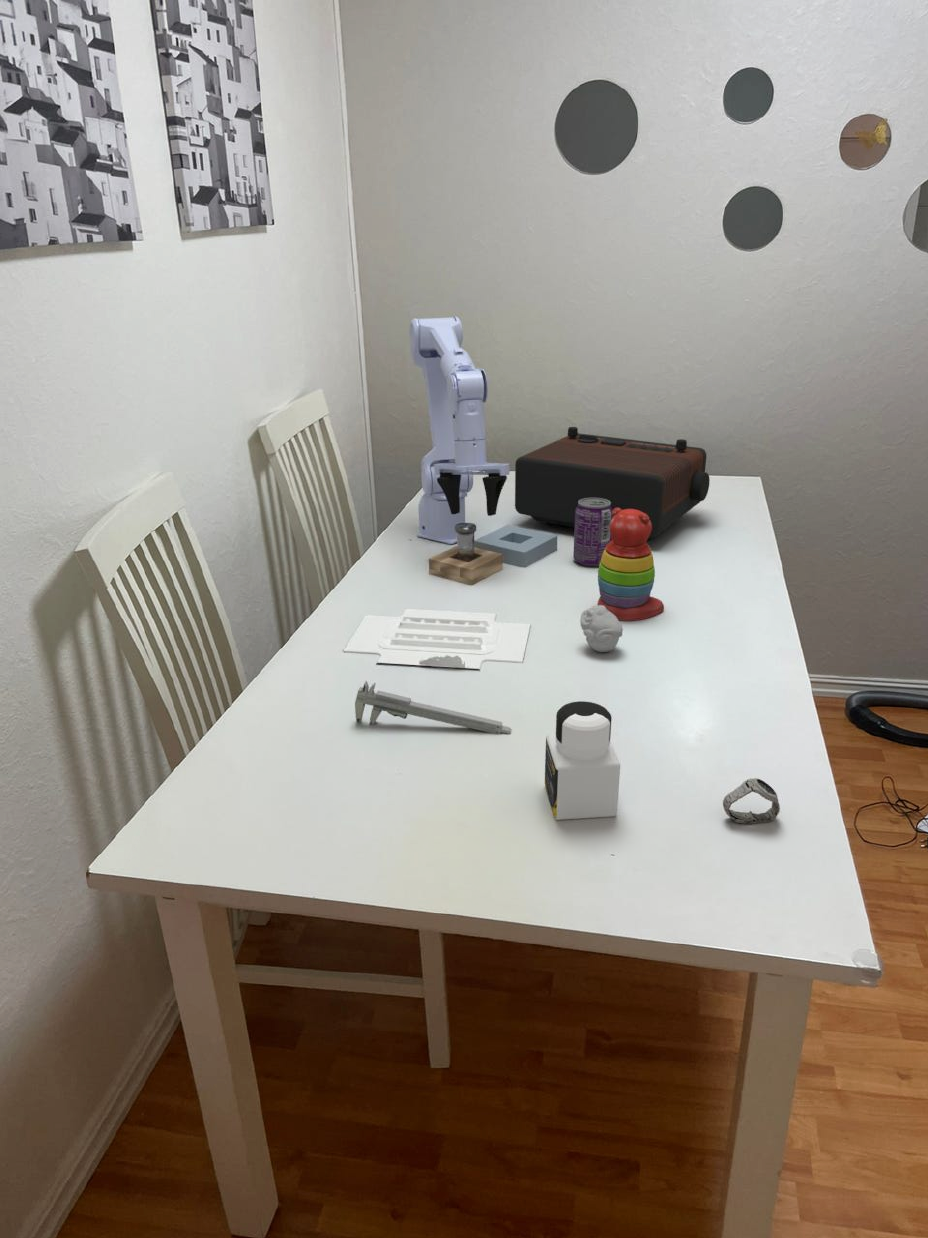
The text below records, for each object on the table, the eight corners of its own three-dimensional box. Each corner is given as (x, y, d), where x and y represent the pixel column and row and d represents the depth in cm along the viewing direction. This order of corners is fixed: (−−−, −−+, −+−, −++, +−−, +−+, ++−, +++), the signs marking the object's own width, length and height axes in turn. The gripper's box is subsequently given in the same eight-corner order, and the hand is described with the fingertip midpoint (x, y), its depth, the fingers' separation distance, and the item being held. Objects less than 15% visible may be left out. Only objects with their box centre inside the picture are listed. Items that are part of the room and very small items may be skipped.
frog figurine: (594, 636, 143) (596, 596, 140) (630, 650, 139) (633, 609, 136) (570, 649, 139) (572, 608, 136) (606, 663, 135) (609, 621, 132)
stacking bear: (668, 609, 153) (677, 508, 145) (635, 628, 146) (643, 523, 139) (615, 593, 159) (621, 496, 152) (581, 610, 153) (586, 509, 145)
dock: (473, 555, 178) (473, 540, 177) (507, 538, 187) (507, 524, 186) (524, 567, 171) (524, 552, 170) (557, 549, 180) (557, 535, 179)
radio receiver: (711, 518, 198) (720, 437, 190) (667, 555, 177) (675, 466, 169) (568, 496, 215) (571, 420, 207) (513, 527, 194) (514, 444, 187)
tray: (370, 612, 155) (370, 592, 153) (532, 626, 151) (533, 605, 150) (337, 666, 136) (336, 644, 135) (520, 683, 133) (522, 661, 131)
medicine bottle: (544, 784, 106) (546, 696, 101) (603, 781, 107) (608, 692, 102) (554, 821, 100) (558, 729, 95) (617, 817, 100) (624, 725, 95)
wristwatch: (782, 827, 99) (788, 789, 96) (727, 830, 98) (732, 792, 96) (769, 808, 102) (775, 771, 100) (716, 811, 101) (720, 774, 99)
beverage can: (609, 555, 177) (612, 497, 172) (610, 568, 170) (614, 508, 165) (572, 554, 177) (575, 496, 172) (573, 567, 171) (575, 507, 166)
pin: (451, 567, 169) (450, 526, 166) (463, 561, 172) (463, 521, 169) (468, 571, 167) (467, 530, 164) (480, 565, 170) (480, 525, 167)
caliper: (356, 725, 120) (353, 683, 117) (358, 721, 121) (355, 679, 118) (510, 736, 117) (511, 693, 114) (511, 731, 118) (512, 689, 115)
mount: (429, 573, 169) (428, 558, 168) (460, 558, 176) (460, 543, 175) (471, 585, 164) (471, 569, 162) (502, 568, 171) (502, 554, 170)
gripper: (424, 441, 162) (428, 516, 166) (495, 441, 155) (498, 519, 159) (443, 438, 168) (447, 510, 171) (513, 437, 161) (516, 512, 165)
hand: (473, 514), depth 165 cm, fingers open, 7 cm apart
